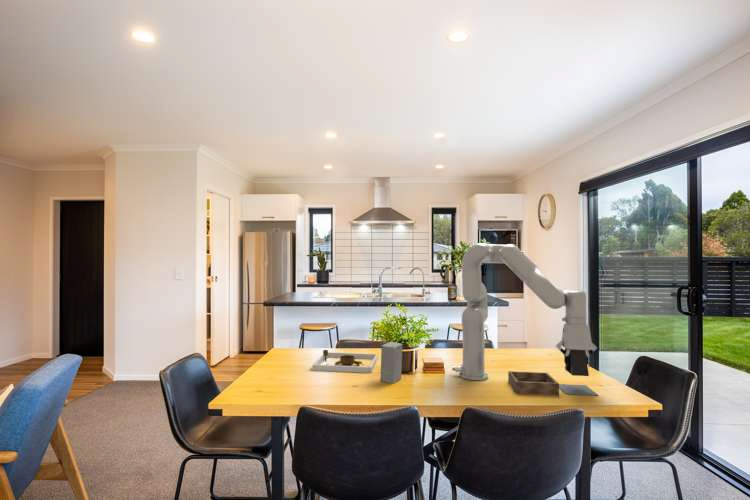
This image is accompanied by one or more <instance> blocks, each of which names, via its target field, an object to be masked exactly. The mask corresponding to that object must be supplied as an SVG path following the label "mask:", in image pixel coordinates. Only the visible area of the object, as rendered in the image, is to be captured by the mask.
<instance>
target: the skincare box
mask: <svg viewBox="0 0 750 500" xmlns="http://www.w3.org/2000/svg"><path fill="white" fill-rule="evenodd" d="M402 361H403V343H399V342H395V341H389V342H387V343H385V344H381V352H380V382H383V383H387V384H392V385H393V384H395V383H397V382H398V381H400V380H402V370H403V369H402V368H403V367H402V364H403V362H402Z"/></svg>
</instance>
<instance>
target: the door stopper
mask: <svg viewBox="0 0 750 500" xmlns="http://www.w3.org/2000/svg"><path fill="white" fill-rule="evenodd" d="M569 356H570V366H567V365H566V364H565V363H564V364H565V366H564V370H565V371H566V372H567V373H569V374H570V375H571V376H573V377H575V376H576V377H577V376H578V377H579V376H580V377H582V376H583V377H589V376H590V375H589V374H590V373H589V368H588V364H587V359H586V352H585V350H570V353H569Z"/></svg>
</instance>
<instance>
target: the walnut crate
mask: <svg viewBox="0 0 750 500" xmlns="http://www.w3.org/2000/svg"><path fill="white" fill-rule="evenodd" d="M507 373H508V375H507V376H508V380H507V382H508V384H509V385H510V386H511V388H512V389H513V391H514V392H515V394H517V393H518V395H519V394H521V395H538V394H540V396H542V395H543V396H560V388H559V384H560V383H559V381H557V380H556V379H555V378H553V376H551V375H550V374H549V372H537V371H534V372H533V371H511V370H510V371H508V372H507Z"/></svg>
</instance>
